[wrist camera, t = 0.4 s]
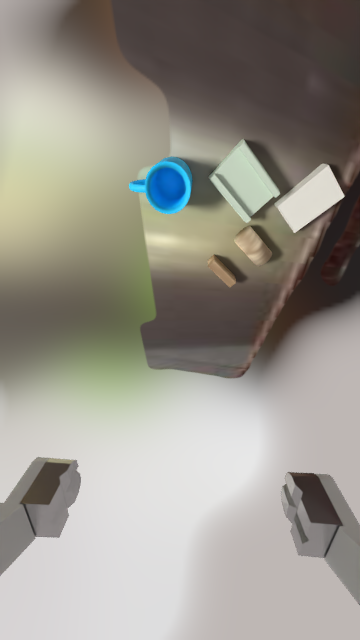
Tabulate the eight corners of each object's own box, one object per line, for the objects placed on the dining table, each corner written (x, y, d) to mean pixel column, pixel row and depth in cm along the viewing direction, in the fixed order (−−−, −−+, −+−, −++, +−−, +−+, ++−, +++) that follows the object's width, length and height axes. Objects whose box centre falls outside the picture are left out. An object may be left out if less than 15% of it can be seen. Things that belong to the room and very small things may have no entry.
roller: (249, 223, 51) (252, 230, 47) (269, 248, 54) (274, 256, 51) (233, 237, 53) (235, 244, 50) (253, 260, 56) (257, 269, 53)
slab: (321, 163, 43) (328, 165, 41) (337, 193, 46) (344, 196, 44) (273, 203, 48) (277, 207, 46) (290, 228, 51) (294, 233, 49)
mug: (192, 155, 44) (190, 160, 37) (192, 202, 49) (190, 213, 43) (130, 157, 45) (119, 162, 38) (137, 203, 50) (127, 214, 44)
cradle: (241, 139, 42) (245, 140, 38) (275, 187, 46) (281, 192, 42) (208, 176, 46) (209, 180, 42) (242, 217, 50) (245, 224, 46)
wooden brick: (214, 254, 56) (214, 260, 53) (234, 275, 59) (236, 282, 56) (207, 260, 57) (208, 266, 54) (228, 280, 60) (229, 287, 57)
